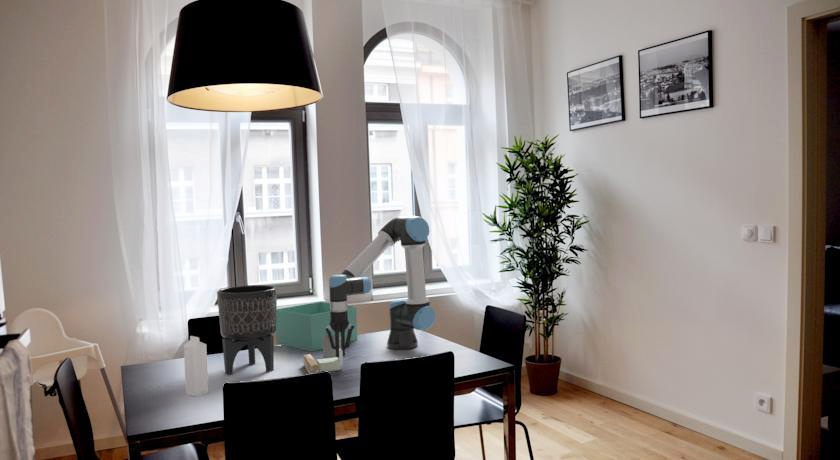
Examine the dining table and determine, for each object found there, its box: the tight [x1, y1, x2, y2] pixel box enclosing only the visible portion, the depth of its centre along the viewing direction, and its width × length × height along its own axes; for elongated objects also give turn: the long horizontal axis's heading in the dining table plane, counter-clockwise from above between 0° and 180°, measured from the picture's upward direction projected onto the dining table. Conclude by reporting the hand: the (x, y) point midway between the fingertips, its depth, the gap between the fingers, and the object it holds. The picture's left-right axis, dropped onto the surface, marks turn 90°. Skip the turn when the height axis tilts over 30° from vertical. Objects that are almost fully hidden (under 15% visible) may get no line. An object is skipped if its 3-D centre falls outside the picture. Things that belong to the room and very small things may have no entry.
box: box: [275, 301, 358, 352], centre depth 320 cm, size 30×30×18 cm
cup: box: [322, 335, 341, 359], centre depth 284 cm, size 8×8×10 cm
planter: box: [216, 284, 278, 376], centre depth 268 cm, size 25×25×36 cm
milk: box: [183, 335, 209, 397], centre depth 236 cm, size 6×6×22 cm
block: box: [316, 357, 342, 373], centre depth 266 cm, size 9×7×4 cm
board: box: [302, 353, 320, 375], centre depth 263 cm, size 3×20×5 cm, turn 20°
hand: (340, 364), depth 267 cm, fingers closed
